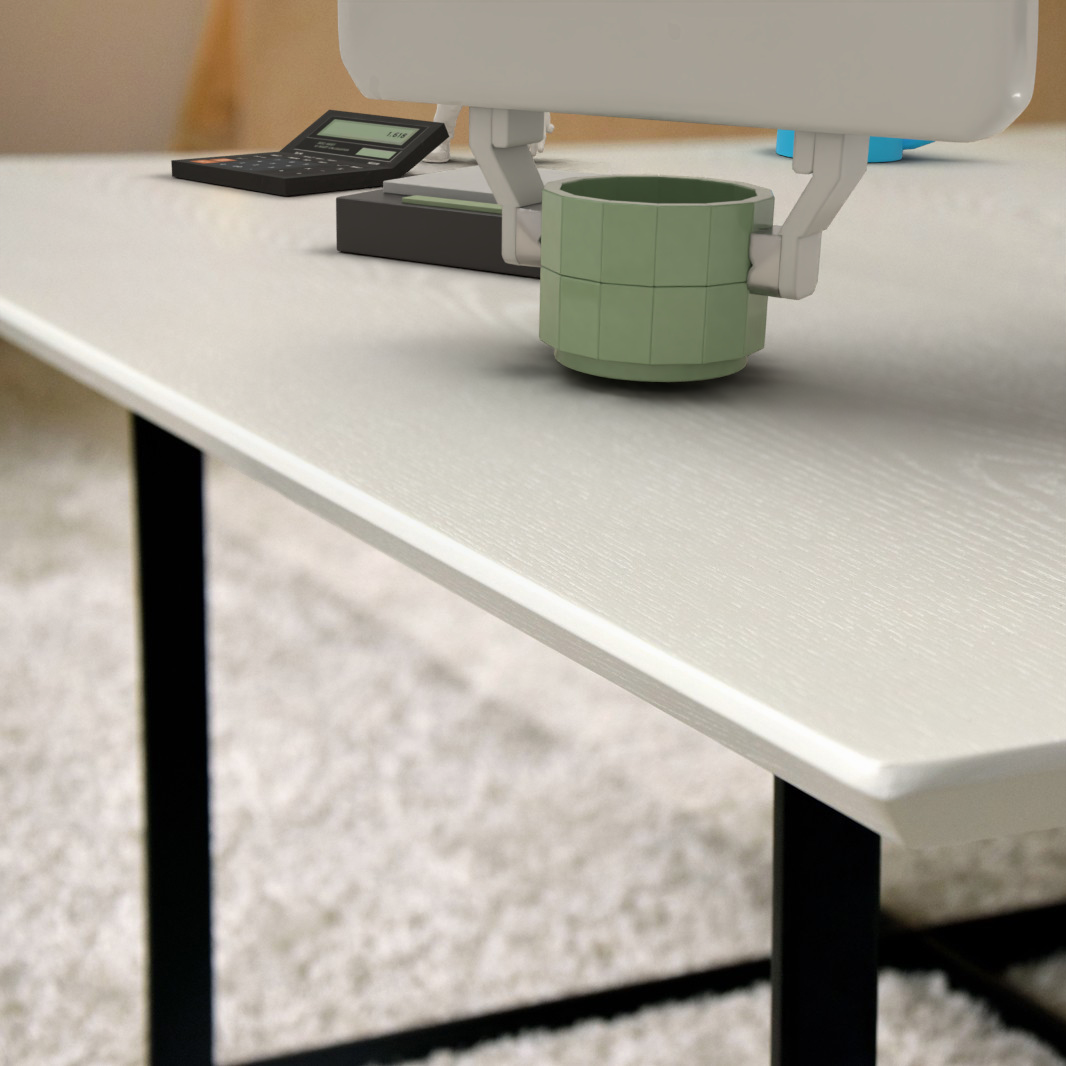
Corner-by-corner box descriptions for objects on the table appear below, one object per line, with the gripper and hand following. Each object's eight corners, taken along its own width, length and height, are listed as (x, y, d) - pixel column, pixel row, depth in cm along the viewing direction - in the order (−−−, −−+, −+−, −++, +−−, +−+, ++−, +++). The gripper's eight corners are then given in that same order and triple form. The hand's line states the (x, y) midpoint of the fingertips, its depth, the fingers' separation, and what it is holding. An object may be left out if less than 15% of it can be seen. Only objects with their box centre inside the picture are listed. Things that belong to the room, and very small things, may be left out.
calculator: (172, 176, 87) (169, 119, 86) (335, 161, 96) (334, 109, 95) (285, 195, 82) (284, 134, 81) (448, 178, 90) (449, 122, 89)
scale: (714, 247, 70) (718, 184, 69) (593, 285, 61) (596, 213, 60) (477, 219, 76) (479, 160, 75) (335, 251, 67) (334, 184, 66)
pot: (796, 352, 50) (808, 186, 48) (704, 399, 44) (715, 213, 43) (605, 325, 53) (610, 168, 51) (496, 365, 47) (499, 191, 46)
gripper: (1105, -242, 41) (1036, 303, 46) (426, -218, 50) (426, 231, 55) (1043, -274, 36) (973, 344, 40) (300, -240, 45) (312, 257, 50)
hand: (652, 278), depth 48 cm, fingers closed on pot, 6 cm apart
